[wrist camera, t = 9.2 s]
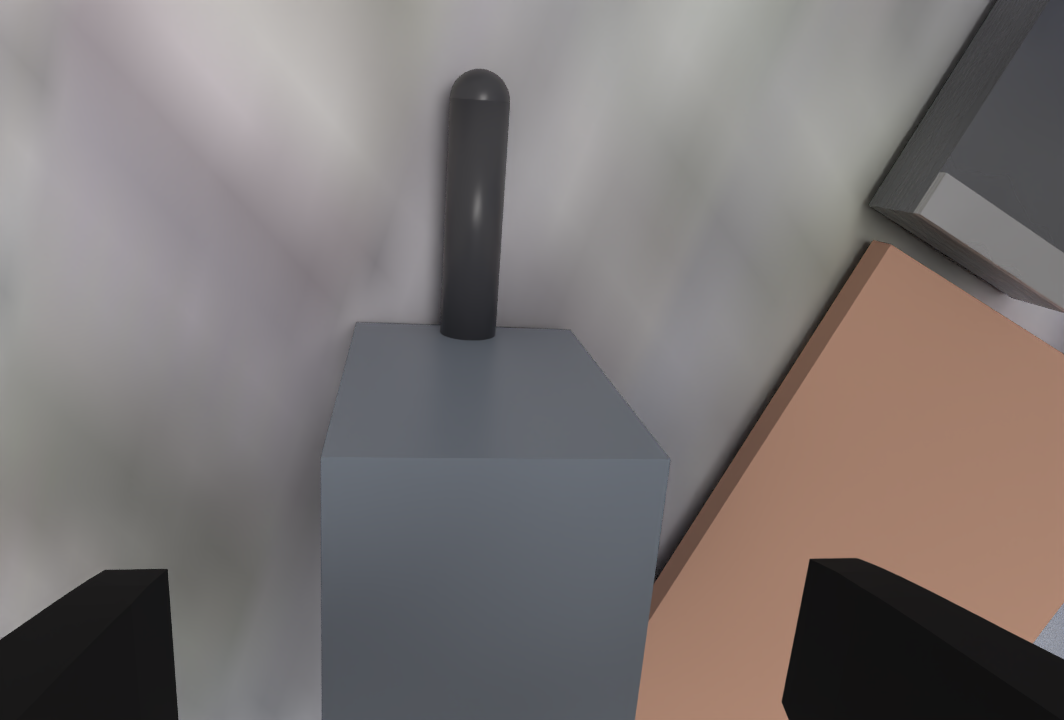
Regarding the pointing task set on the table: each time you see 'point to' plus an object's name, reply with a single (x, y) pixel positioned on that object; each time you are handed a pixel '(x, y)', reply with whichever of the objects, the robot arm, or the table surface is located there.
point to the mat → (870, 489)
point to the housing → (994, 157)
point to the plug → (483, 495)
